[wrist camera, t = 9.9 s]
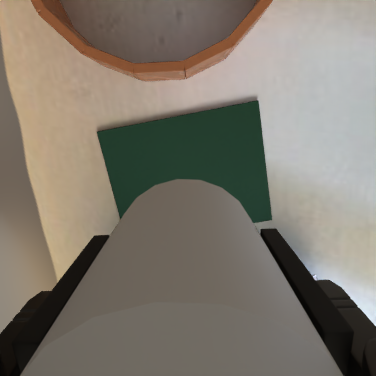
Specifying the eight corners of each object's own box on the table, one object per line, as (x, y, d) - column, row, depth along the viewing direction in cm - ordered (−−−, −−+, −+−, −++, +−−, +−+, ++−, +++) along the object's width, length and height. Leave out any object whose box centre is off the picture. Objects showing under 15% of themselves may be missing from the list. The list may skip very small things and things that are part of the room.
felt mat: (257, 100, 30) (258, 100, 29) (271, 218, 33) (272, 219, 33) (97, 131, 31) (96, 131, 30) (127, 243, 34) (127, 244, 34)
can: (234, 303, 17) (334, 719, 5) (113, 283, 16) (-63, 682, 5) (266, 189, 15) (535, 447, 3) (130, 162, 15) (-93, 353, 3)
